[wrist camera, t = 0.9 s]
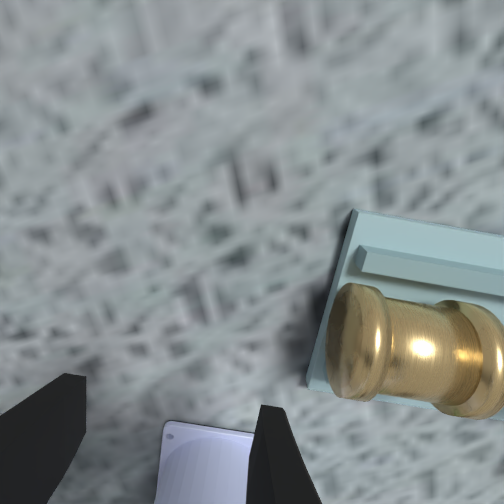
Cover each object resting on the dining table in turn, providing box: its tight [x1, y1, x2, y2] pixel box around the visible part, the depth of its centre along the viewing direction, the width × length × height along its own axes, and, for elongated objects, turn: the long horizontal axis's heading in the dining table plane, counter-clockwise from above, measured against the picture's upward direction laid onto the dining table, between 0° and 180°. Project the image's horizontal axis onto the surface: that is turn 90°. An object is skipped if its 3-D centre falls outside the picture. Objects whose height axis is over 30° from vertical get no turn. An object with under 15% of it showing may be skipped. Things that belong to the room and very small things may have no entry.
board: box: [306, 209, 504, 421], centre depth 17 cm, size 11×15×2 cm
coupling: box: [325, 282, 504, 420], centre depth 15 cm, size 6×5×5 cm
